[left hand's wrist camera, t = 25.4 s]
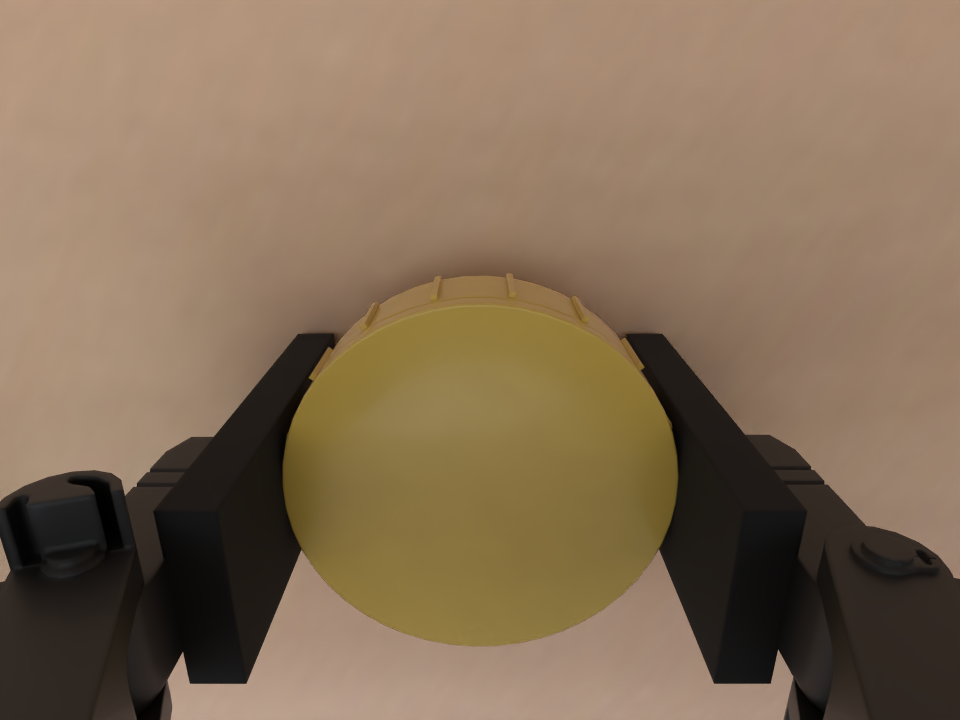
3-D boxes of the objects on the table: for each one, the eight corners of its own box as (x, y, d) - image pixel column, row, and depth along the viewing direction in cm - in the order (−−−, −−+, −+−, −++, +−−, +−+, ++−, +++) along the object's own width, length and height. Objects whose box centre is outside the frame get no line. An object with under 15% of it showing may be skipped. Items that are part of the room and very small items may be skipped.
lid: (254, 314, 11) (216, 350, 9) (630, 232, 10) (657, 254, 9) (360, 606, 13) (344, 676, 12) (673, 549, 13) (702, 613, 11)
